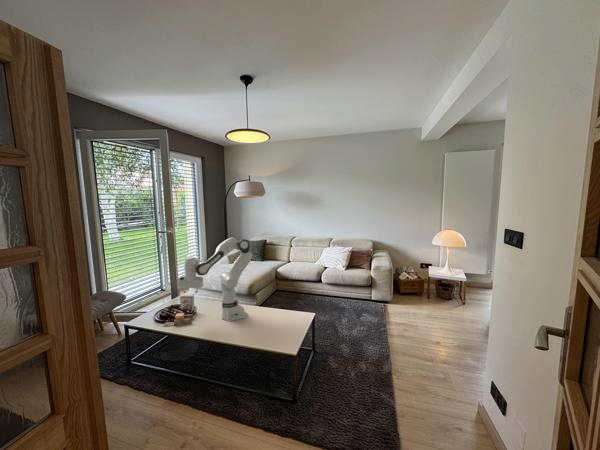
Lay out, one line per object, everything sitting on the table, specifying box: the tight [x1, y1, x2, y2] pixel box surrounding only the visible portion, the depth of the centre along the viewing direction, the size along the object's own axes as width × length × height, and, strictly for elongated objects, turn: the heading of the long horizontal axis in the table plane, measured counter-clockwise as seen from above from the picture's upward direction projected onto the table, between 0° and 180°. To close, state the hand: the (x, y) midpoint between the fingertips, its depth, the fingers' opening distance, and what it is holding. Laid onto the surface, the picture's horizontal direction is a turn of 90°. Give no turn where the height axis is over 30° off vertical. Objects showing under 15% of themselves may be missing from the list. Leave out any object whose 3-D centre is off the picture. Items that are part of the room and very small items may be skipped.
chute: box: [163, 313, 194, 328], centre depth 212 cm, size 21×10×4 cm, turn 104°
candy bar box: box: [179, 293, 195, 311], centre depth 230 cm, size 11×5×16 cm, turn 84°
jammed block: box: [174, 312, 185, 320], centre depth 212 cm, size 6×6×6 cm
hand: (190, 292), depth 212 cm, fingers open, 8 cm apart
